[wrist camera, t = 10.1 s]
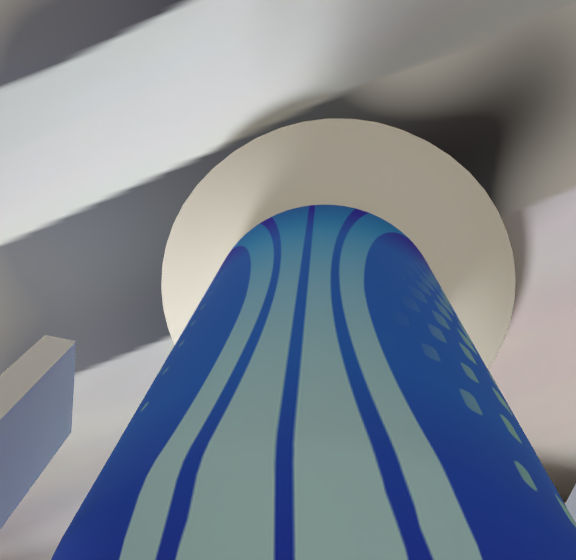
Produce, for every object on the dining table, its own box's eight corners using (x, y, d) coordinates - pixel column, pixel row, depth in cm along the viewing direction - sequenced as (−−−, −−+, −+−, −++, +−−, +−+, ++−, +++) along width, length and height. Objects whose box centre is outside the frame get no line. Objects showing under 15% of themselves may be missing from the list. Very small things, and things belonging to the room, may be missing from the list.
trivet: (152, 395, 23) (145, 408, 23) (191, 81, 18) (183, 80, 17) (443, 458, 24) (448, 473, 23) (563, 162, 18) (575, 166, 17)
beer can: (434, 382, 21) (699, 1107, 6) (238, 397, 22) (53, 1054, 7) (426, 183, 18) (903, 642, 3) (201, 210, 19) (-254, 660, 4)
